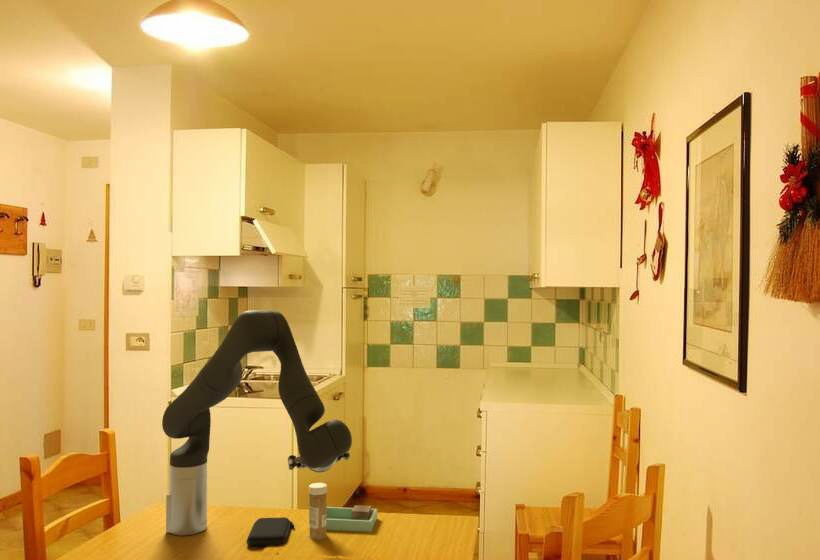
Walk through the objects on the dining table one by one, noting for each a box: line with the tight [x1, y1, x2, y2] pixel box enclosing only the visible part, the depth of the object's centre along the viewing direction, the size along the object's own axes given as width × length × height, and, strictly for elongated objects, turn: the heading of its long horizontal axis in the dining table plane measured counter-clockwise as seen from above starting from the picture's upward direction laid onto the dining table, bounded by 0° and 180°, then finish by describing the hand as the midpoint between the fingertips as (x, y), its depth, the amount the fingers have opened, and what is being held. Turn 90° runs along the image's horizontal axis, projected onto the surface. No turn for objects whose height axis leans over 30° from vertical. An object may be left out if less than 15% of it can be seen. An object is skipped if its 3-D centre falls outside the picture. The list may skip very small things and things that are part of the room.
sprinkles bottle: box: [308, 482, 328, 541], centre depth 158 cm, size 5×5×14 cm
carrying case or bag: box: [246, 516, 295, 548], centre depth 160 cm, size 11×3×15 cm
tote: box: [326, 506, 378, 533], centre depth 167 cm, size 15×9×3 cm, turn 84°
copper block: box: [351, 504, 372, 520], centre depth 167 cm, size 4×4×4 cm
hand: (317, 460), depth 154 cm, fingers open, 8 cm apart
